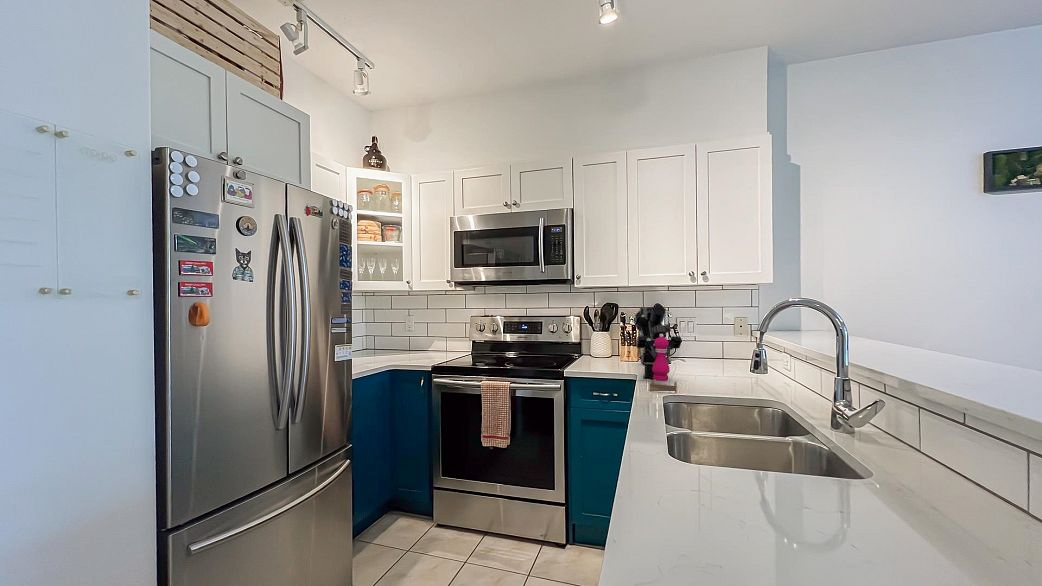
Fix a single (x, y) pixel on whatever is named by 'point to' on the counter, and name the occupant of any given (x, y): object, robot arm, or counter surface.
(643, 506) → the counter surface
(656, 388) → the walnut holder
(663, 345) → the pepper mill
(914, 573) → the counter surface
